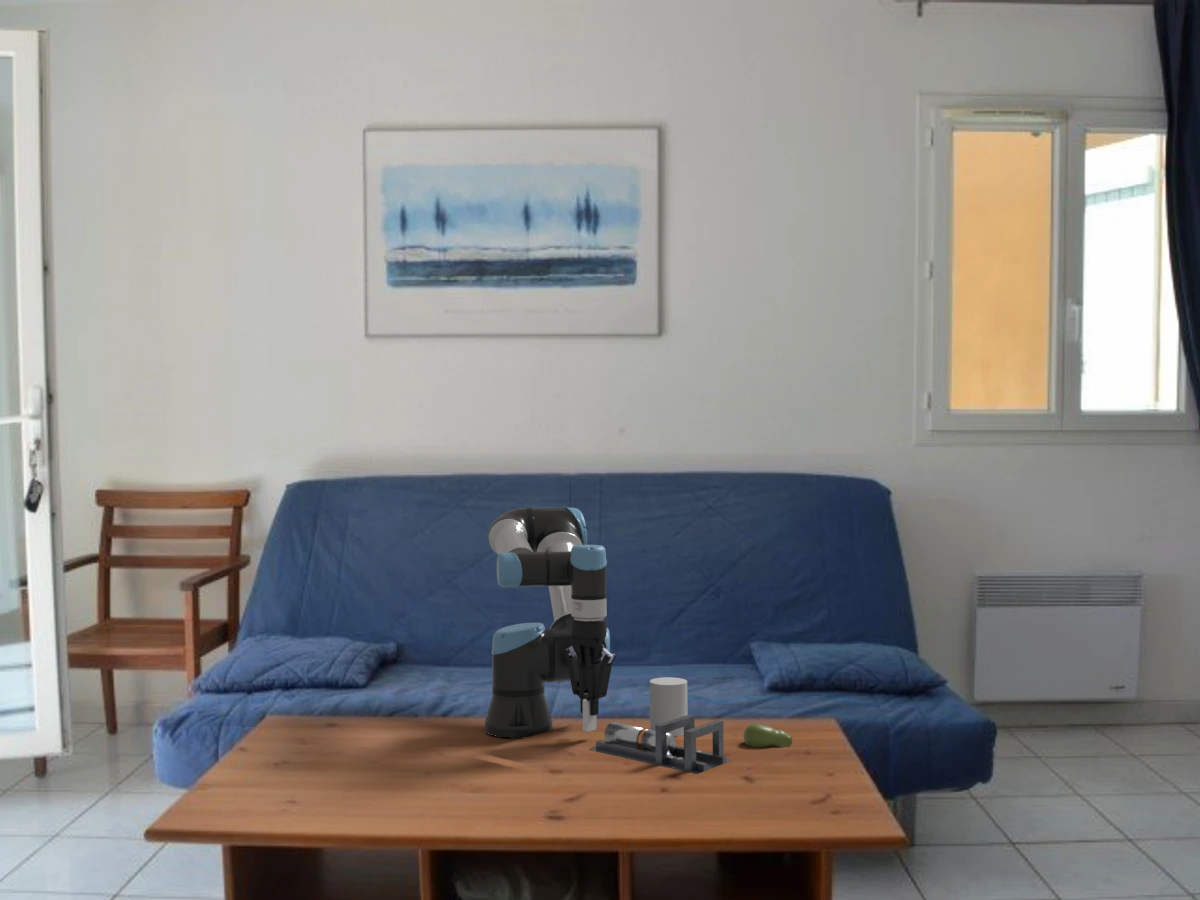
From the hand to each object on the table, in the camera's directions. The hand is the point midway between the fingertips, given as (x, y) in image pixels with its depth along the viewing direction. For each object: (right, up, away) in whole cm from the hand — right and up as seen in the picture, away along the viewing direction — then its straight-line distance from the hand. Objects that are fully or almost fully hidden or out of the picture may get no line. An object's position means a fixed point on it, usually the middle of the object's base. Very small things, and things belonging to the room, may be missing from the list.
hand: (589, 729), depth 231 cm
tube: (+10, -2, -8) cm, 13 cm away
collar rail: (+14, -3, -12) cm, 19 cm away
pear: (+37, -3, -4) cm, 38 cm away
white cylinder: (+17, -3, +7) cm, 19 cm away
